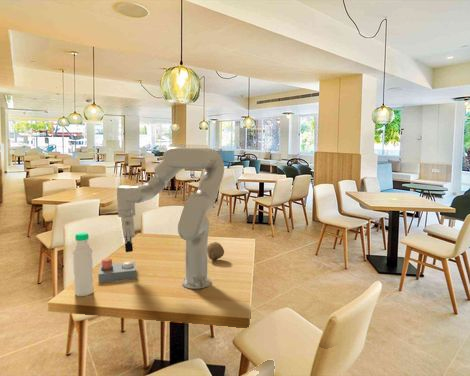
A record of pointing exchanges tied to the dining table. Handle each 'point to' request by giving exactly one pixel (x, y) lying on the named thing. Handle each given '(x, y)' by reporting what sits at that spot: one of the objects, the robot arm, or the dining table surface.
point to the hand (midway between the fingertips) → (129, 251)
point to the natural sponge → (215, 251)
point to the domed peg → (127, 265)
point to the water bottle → (83, 266)
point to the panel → (117, 273)
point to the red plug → (106, 264)
